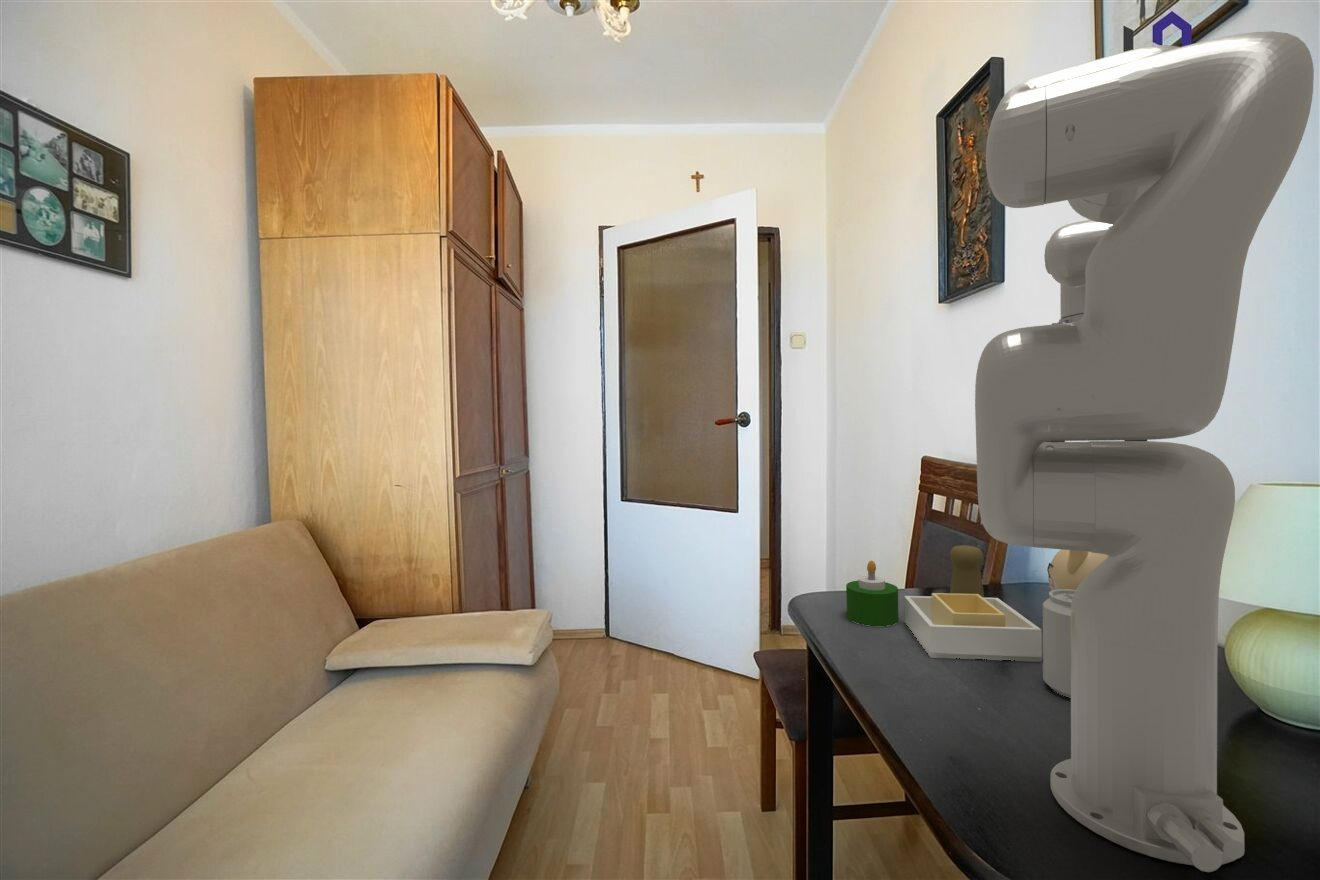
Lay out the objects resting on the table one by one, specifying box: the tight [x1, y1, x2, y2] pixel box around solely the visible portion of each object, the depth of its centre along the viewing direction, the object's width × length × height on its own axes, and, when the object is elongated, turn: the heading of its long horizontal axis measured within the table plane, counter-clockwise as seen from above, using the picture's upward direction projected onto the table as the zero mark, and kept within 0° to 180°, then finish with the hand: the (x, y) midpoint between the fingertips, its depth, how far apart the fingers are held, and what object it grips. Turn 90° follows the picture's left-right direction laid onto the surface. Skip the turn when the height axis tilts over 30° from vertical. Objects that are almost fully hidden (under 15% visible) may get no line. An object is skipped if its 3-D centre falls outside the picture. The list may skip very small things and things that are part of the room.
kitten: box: [1046, 549, 1108, 591], centre depth 91 cm, size 15×10×15 cm
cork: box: [949, 544, 985, 598], centre depth 103 cm, size 6×6×11 cm
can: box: [1042, 589, 1076, 699], centre depth 71 cm, size 8×8×12 cm
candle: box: [845, 560, 899, 626], centre depth 98 cm, size 8×8×10 cm
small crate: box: [931, 592, 1006, 627], centre depth 88 cm, size 10×7×5 cm
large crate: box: [903, 595, 1043, 663], centre depth 88 cm, size 14×14×4 cm
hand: (1095, 457), depth 78 cm, fingers open, 9 cm apart
